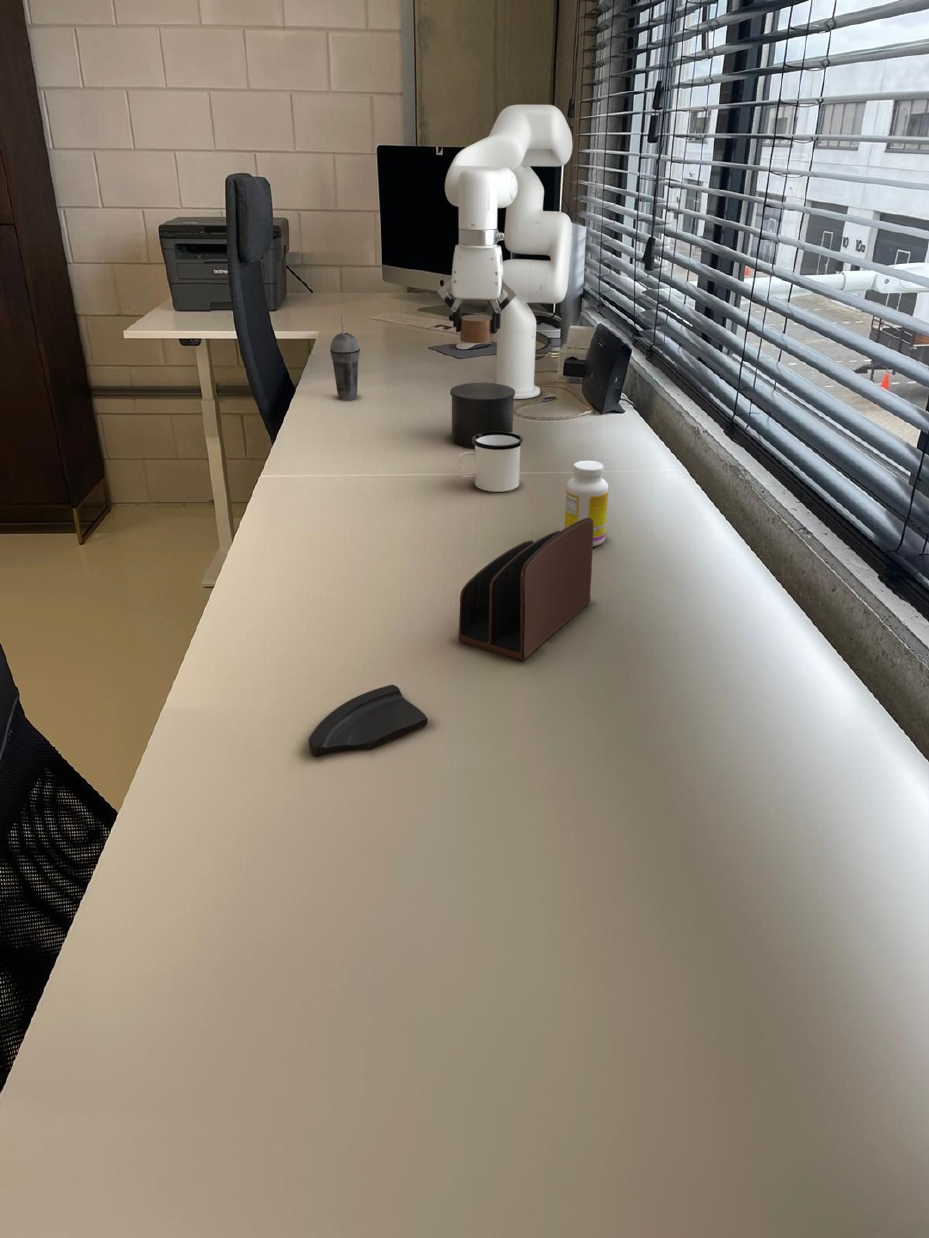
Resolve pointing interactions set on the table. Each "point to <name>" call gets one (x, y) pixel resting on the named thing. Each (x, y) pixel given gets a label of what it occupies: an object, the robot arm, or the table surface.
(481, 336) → the short brown cylinder
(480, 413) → the pot
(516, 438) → the mug
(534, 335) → the robot arm
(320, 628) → the table surface
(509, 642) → the letter holder
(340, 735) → the fan shaped piece
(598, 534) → the supplement bottle
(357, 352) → the beverage cup
